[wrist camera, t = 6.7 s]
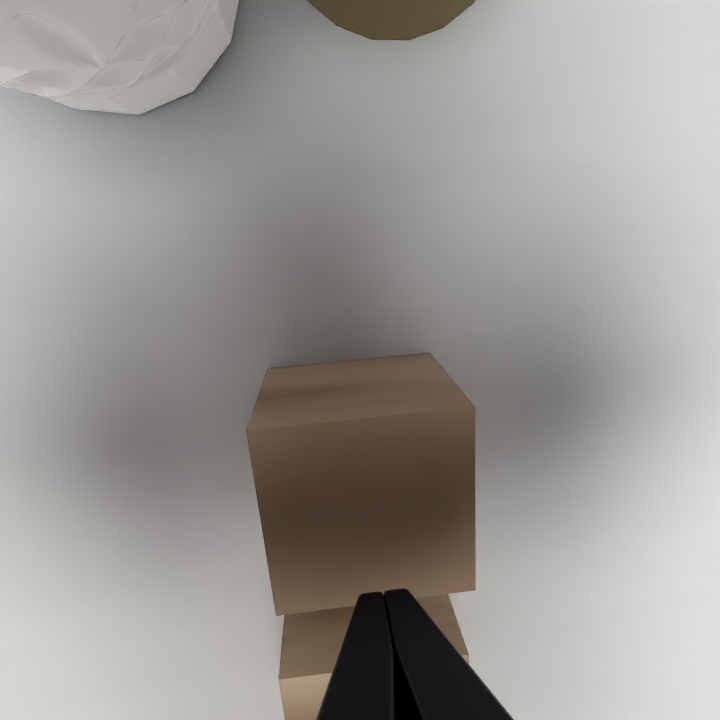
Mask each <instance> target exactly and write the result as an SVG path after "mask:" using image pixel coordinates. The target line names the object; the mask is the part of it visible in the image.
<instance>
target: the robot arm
mask: <svg viewBox="0 0 720 720" xmlns="http://www.w3.org/2000/svg"><path fill="white" fill-rule="evenodd" d="M316 720H514V719H513V718H512V717H511V716H510V714H509V713H508V712H507V711H506V709H505V708H504V707H503V706H502V705H501V703H500V702H499V701H498V700H497V698H496V697H495V696H494V695H493V694H492V692H491V691H490V690H489V689H488V687H487V686H486V685H485V684H484V682H483V681H482V680H481V679H480V678H479V676H478V675H477V674H476V673H475V671H474V670H473V669H472V668H471V666H470V665H469V664H468V663H467V662H466V660H465V659H464V658H463V657H462V655H461V654H460V653H459V652H458V650H457V649H456V648H455V647H454V646H453V644H452V643H451V642H450V641H449V639H448V638H447V637H446V636H445V634H444V633H443V632H442V631H441V630H440V628H439V627H438V626H437V625H436V623H435V622H434V621H433V620H432V618H431V617H430V616H429V615H428V614H427V612H426V611H425V610H424V609H423V607H422V606H421V605H420V604H419V602H418V601H417V600H416V599H415V598H414V596H413V595H412V594H411V593H410V592H409V590H407V589H405V588H401V589H393V590H387V591H385V593H384V595H383V593H382V592H380V591H377V592H369V593H362V594H360V595H359V597H358V599H357V602H356V605H355V608H354V611H353V614H352V617H351V619H350V622H349V625H348V628H347V631H346V634H345V637H344V640H343V642H342V645H341V648H340V651H339V654H338V657H337V660H336V663H335V666H334V668H333V671H332V674H331V677H330V680H329V683H328V686H327V689H326V691H325V694H324V697H323V700H322V703H321V706H320V709H319V712H318V715H317V717H316Z"/></svg>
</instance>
